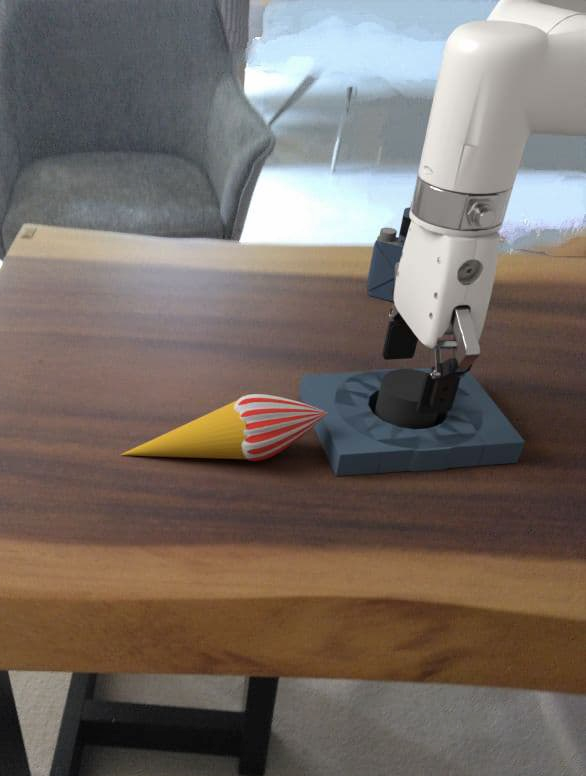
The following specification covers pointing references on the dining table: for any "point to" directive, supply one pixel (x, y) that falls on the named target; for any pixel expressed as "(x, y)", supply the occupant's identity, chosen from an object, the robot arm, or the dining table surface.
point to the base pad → (402, 445)
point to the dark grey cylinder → (403, 400)
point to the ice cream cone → (238, 430)
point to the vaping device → (387, 259)
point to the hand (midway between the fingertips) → (414, 383)
